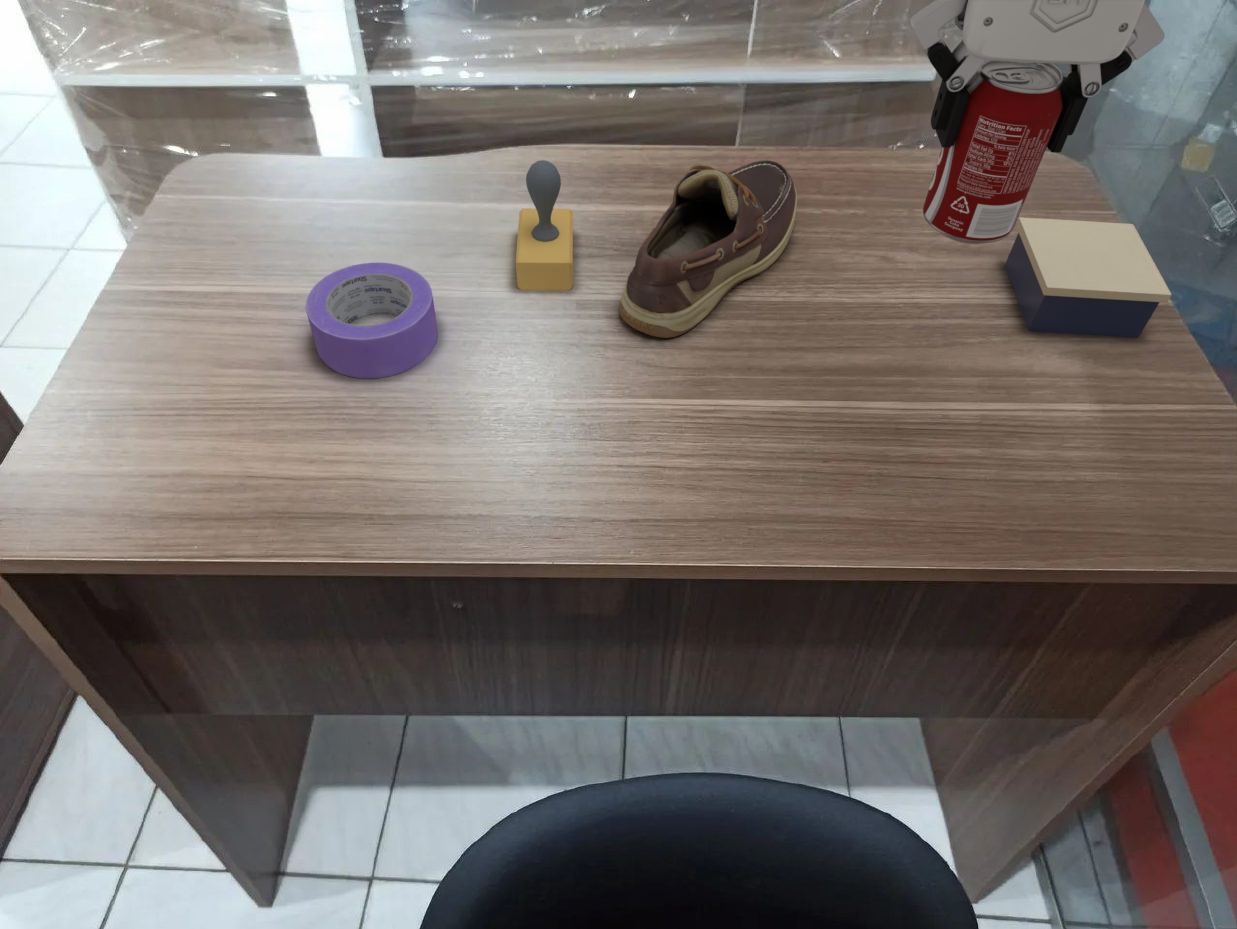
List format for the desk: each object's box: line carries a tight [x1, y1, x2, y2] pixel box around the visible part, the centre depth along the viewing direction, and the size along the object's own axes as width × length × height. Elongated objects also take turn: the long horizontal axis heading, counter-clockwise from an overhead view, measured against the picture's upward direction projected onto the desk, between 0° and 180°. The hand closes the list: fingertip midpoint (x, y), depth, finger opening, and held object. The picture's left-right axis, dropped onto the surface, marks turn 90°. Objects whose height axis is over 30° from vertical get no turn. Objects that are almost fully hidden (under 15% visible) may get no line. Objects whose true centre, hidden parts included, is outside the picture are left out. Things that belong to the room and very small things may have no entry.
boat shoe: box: [618, 159, 798, 339], centre depth 95 cm, size 30×11×11 cm, turn 144°
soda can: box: [922, 60, 1065, 245], centre depth 65 cm, size 7×7×12 cm
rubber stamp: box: [515, 159, 574, 291], centre depth 93 cm, size 10×6×12 cm, turn 2°
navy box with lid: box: [1004, 216, 1173, 339], centre depth 94 cm, size 12×12×6 cm
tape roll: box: [305, 262, 439, 380], centre depth 87 cm, size 12×12×5 cm
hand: (996, 138), depth 64 cm, fingers closed on soda can, 6 cm apart
